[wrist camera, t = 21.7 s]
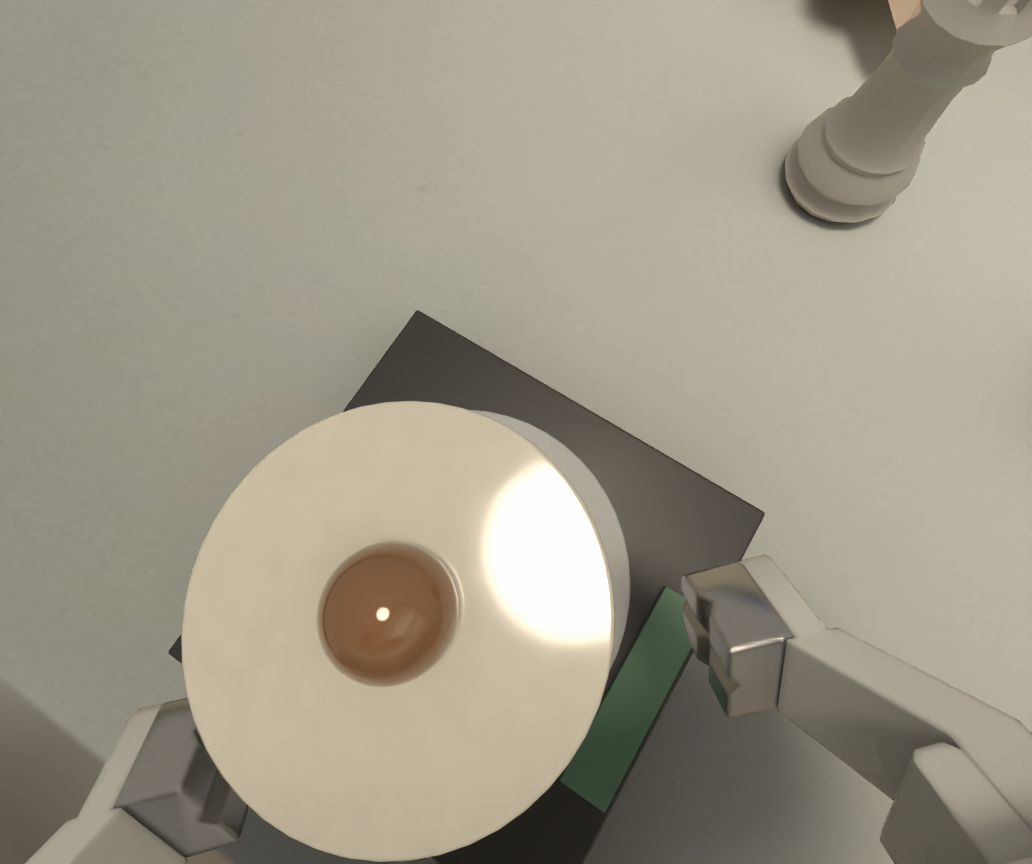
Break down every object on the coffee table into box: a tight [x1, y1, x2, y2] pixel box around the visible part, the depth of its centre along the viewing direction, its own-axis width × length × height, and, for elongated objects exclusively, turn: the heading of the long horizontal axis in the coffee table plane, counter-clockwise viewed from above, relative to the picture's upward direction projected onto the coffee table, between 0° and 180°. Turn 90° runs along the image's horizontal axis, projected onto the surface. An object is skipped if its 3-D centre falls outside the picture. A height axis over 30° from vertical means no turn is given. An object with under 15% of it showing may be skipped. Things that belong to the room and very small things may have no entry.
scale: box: [169, 310, 765, 864], centre depth 16 cm, size 13×13×3 cm
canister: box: [181, 401, 615, 862], centre depth 10 cm, size 6×6×9 cm
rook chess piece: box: [785, 0, 1032, 223], centre depth 17 cm, size 4×4×8 cm
